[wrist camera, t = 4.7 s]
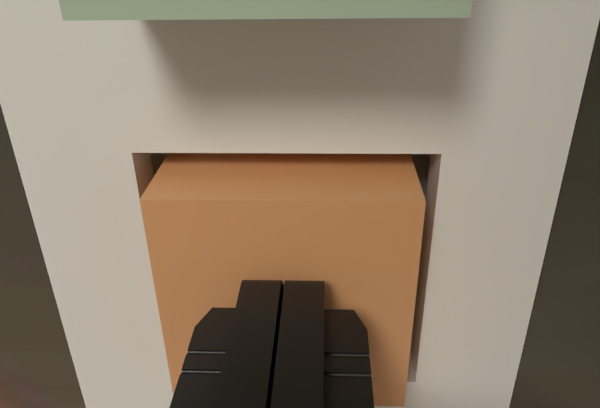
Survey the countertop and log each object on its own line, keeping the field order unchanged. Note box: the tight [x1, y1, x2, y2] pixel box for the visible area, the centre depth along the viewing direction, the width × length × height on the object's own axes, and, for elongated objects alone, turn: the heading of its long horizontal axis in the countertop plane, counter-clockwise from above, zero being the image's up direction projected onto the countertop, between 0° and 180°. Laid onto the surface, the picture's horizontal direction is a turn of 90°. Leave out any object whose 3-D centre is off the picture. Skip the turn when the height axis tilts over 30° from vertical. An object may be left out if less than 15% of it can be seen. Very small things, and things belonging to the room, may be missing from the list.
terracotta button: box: [140, 153, 426, 407], centre depth 12 cm, size 5×5×3 cm
